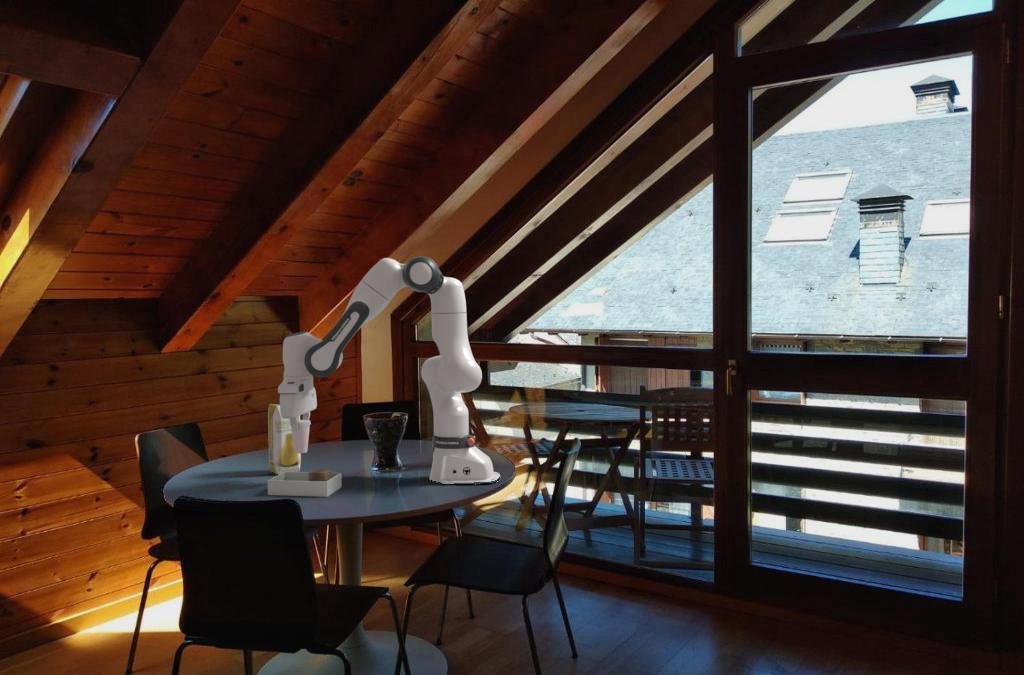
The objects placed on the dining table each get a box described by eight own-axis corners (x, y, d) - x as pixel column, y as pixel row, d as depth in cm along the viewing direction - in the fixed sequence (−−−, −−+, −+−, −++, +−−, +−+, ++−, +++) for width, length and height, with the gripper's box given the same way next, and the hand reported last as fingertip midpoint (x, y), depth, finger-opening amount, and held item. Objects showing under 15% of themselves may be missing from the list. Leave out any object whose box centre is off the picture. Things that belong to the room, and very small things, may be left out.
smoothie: (289, 451, 258) (288, 407, 257) (310, 449, 260) (309, 405, 259) (291, 454, 252) (290, 409, 251) (312, 453, 254) (311, 408, 253)
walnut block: (331, 489, 244) (330, 469, 244) (325, 493, 239) (324, 473, 239) (315, 488, 245) (314, 469, 244) (308, 492, 240) (308, 472, 239)
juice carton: (276, 476, 266) (275, 402, 264) (266, 472, 272) (265, 400, 270) (303, 472, 271) (302, 400, 270) (293, 468, 278) (291, 398, 276)
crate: (341, 489, 247) (341, 473, 247) (327, 499, 235) (327, 482, 235) (284, 487, 250) (284, 471, 249) (267, 497, 238) (267, 480, 237)
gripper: (302, 380, 265) (304, 422, 266) (275, 388, 245) (277, 434, 246) (320, 380, 264) (322, 422, 265) (295, 388, 244) (297, 434, 245)
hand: (300, 428), depth 256 cm, fingers closed on smoothie, 6 cm apart
